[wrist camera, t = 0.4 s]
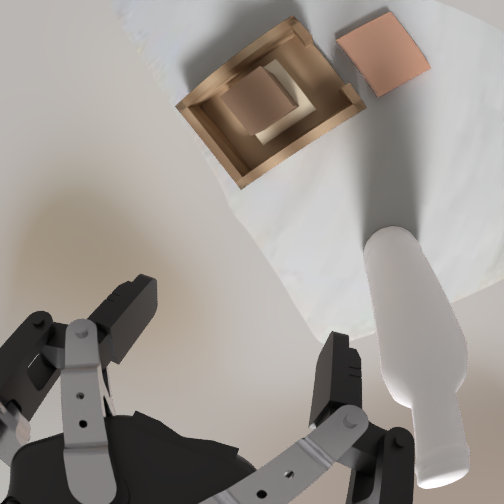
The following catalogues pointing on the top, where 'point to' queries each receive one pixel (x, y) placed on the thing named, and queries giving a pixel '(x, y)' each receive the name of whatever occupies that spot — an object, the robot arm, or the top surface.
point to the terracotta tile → (384, 53)
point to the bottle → (419, 351)
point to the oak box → (287, 128)
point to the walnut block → (259, 100)
